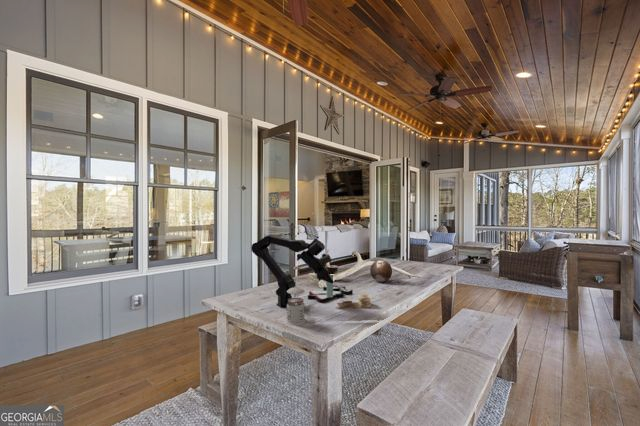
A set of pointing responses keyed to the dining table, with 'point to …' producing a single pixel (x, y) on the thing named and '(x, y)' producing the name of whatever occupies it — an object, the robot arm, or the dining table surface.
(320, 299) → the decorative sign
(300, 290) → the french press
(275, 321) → the dining table surface
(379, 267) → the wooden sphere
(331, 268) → the coffee mug
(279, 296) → the robot arm
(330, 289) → the plank
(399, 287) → the dining table surface
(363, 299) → the rack
